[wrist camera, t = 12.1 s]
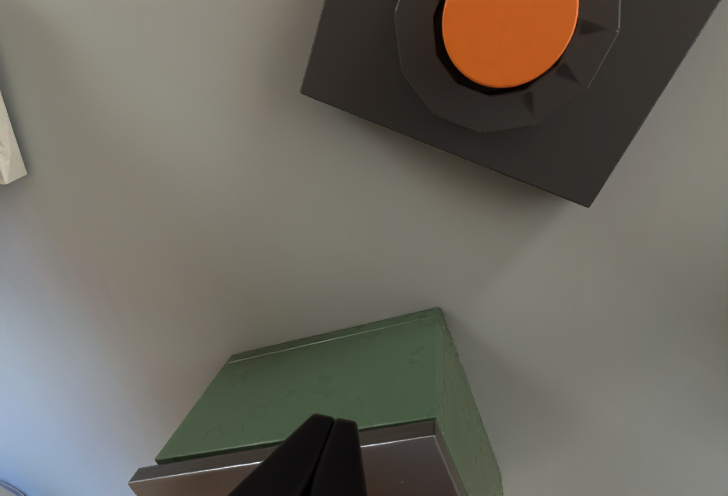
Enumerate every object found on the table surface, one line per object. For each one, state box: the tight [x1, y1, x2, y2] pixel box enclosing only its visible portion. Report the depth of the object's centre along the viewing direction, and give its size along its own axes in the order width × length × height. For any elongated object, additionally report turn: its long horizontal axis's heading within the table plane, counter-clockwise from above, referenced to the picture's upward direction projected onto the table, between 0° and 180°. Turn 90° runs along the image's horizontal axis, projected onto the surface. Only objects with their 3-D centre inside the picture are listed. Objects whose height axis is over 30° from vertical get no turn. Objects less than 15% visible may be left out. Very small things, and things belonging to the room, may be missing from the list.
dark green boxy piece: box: [155, 307, 503, 496], centre depth 22 cm, size 13×12×7 cm
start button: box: [442, 0, 579, 88], centre depth 13 cm, size 4×4×2 cm
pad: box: [300, 0, 721, 208], centre depth 15 cm, size 12×9×4 cm
